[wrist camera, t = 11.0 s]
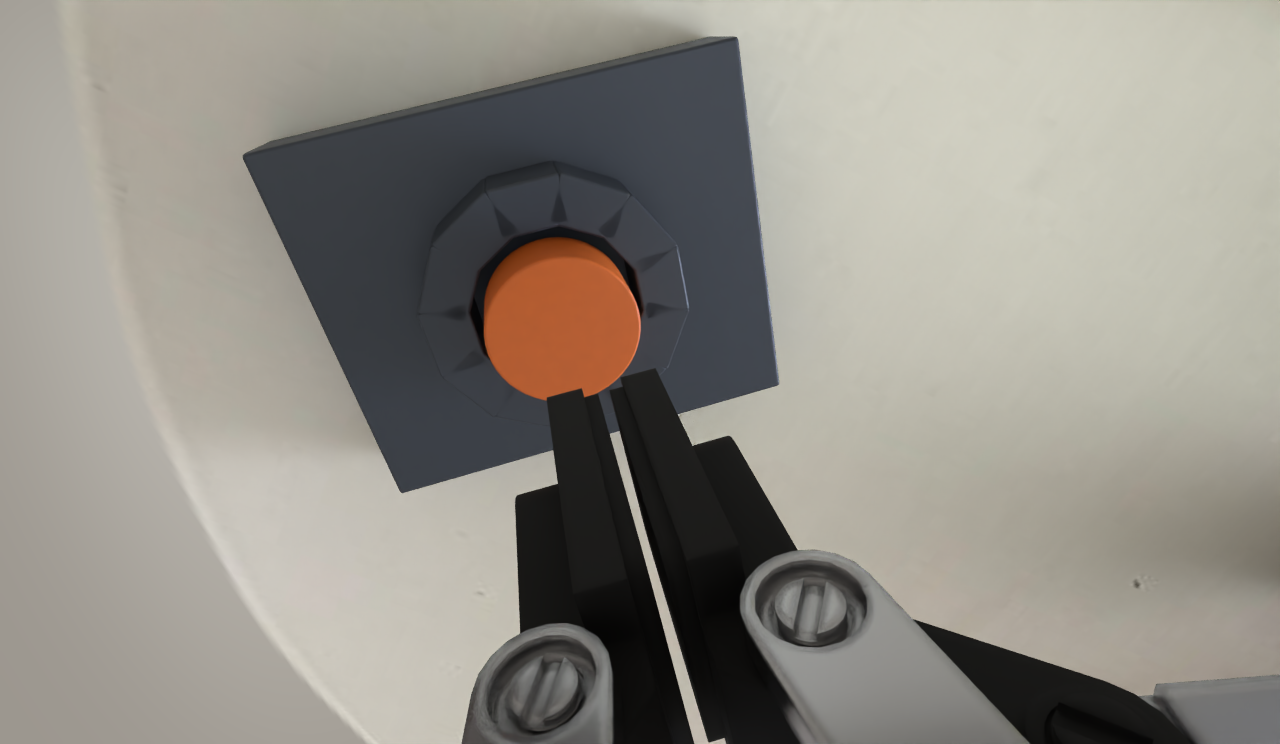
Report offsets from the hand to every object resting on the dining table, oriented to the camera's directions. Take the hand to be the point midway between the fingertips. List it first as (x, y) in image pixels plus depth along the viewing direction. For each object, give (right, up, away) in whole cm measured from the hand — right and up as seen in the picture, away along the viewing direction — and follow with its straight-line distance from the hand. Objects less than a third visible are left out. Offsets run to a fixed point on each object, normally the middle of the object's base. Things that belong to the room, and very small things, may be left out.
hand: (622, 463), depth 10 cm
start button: (-2, +3, +7) cm, 8 cm away
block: (-3, +5, +10) cm, 11 cm away
